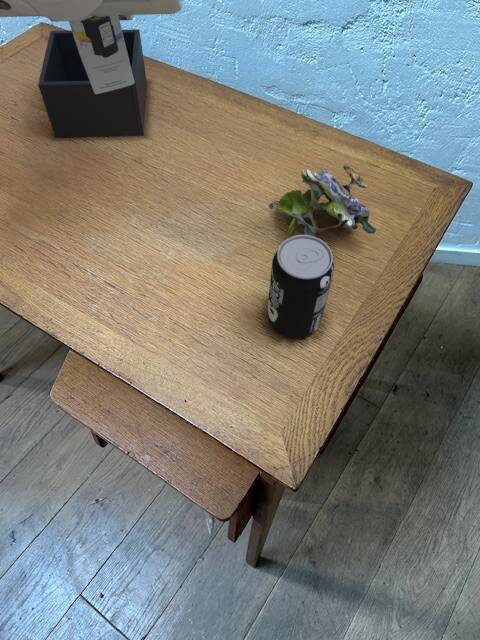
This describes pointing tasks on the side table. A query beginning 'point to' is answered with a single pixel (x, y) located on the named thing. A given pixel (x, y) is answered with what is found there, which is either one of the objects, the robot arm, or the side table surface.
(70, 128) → the open storage bin
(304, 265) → the beverage can
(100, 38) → the ink box
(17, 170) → the side table surface
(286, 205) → the passion flower
